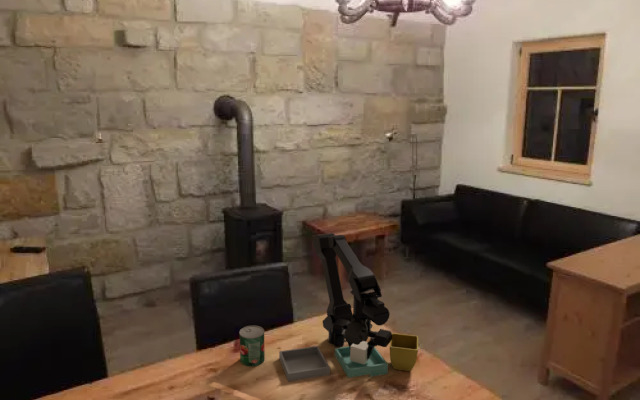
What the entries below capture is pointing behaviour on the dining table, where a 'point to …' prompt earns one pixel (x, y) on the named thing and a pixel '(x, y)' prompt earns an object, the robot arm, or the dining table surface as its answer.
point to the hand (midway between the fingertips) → (360, 356)
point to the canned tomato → (252, 346)
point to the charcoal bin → (303, 363)
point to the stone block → (359, 353)
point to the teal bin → (353, 369)
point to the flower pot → (403, 351)
